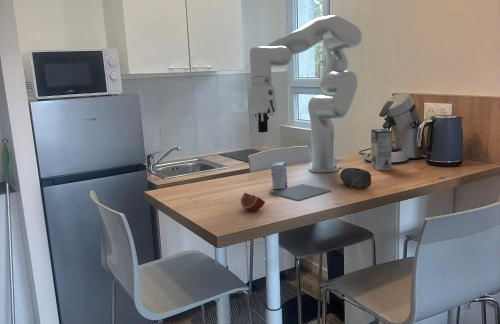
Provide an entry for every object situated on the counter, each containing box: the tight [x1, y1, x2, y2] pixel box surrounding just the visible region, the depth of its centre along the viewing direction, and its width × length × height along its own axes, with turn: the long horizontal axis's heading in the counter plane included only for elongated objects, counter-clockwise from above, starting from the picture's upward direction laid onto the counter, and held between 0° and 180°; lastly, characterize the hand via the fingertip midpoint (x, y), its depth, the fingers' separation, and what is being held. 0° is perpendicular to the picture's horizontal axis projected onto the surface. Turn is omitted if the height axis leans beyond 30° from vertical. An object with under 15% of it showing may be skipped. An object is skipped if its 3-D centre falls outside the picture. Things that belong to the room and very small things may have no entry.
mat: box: [269, 183, 332, 202], centre depth 150 cm, size 16×14×1 cm
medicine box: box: [270, 161, 288, 190], centre depth 157 cm, size 8×4×9 cm, turn 168°
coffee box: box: [370, 128, 393, 171], centre depth 180 cm, size 9×6×16 cm
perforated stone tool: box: [339, 167, 372, 190], centre depth 153 cm, size 15×5×7 cm, turn 22°
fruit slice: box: [240, 192, 266, 212], centre depth 132 cm, size 8×7×5 cm
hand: (263, 131), depth 160 cm, fingers closed
